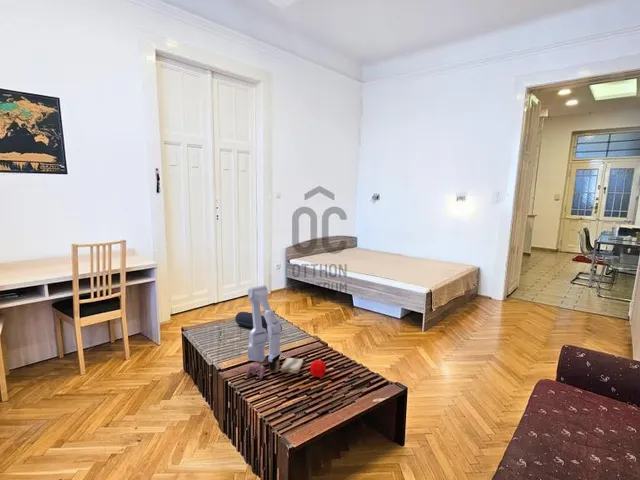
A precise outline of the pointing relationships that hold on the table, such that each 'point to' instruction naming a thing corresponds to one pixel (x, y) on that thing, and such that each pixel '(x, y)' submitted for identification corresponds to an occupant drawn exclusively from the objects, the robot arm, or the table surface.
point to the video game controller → (255, 367)
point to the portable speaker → (248, 320)
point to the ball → (318, 368)
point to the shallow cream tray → (292, 365)
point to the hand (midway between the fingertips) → (274, 367)
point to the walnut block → (275, 367)
